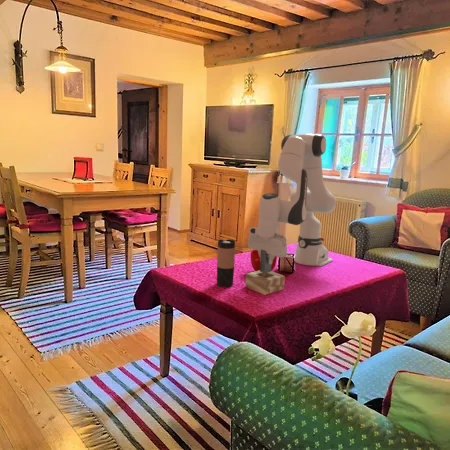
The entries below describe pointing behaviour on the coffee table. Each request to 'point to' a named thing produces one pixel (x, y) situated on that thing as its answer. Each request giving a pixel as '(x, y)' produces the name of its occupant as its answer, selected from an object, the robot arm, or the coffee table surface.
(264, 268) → the grey rectangular block
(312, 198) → the robot arm
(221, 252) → the travel mug
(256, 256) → the ceramic cup
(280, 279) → the well block
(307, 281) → the coffee table surface
